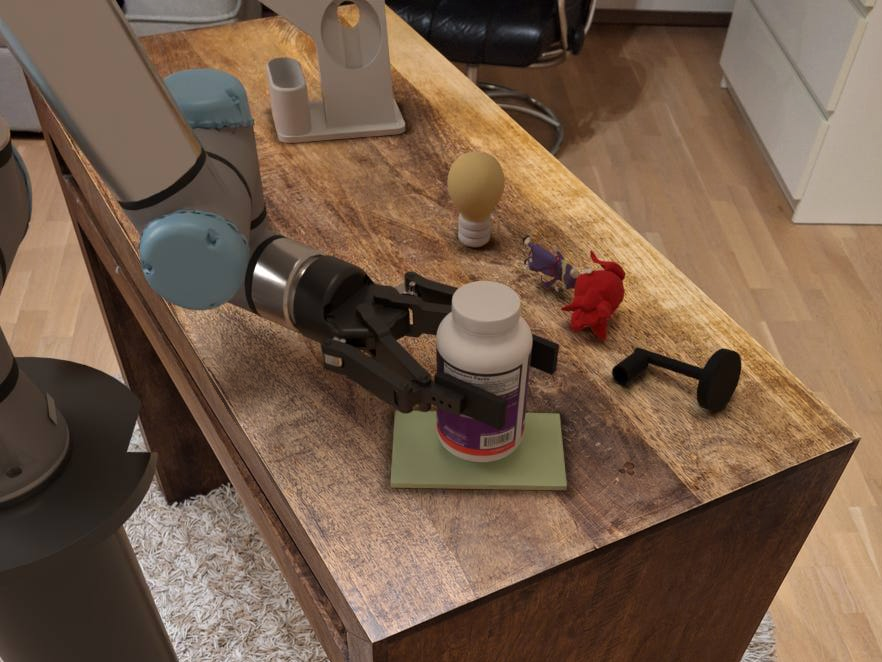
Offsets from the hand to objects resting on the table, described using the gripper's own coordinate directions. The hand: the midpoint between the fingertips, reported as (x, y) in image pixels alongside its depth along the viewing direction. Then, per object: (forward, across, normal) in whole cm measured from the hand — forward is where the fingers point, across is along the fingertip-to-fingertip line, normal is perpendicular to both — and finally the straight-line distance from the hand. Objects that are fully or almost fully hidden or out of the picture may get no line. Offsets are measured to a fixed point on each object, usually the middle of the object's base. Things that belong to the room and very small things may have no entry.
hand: (530, 386), depth 76 cm
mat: (-5, 0, -10) cm, 11 cm away
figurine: (-9, -25, -10) cm, 28 cm away
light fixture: (+6, -16, -10) cm, 20 cm away
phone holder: (-55, -44, -10) cm, 72 cm away
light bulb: (-24, -30, -10) cm, 40 cm away
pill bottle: (-5, 0, -8) cm, 9 cm away
